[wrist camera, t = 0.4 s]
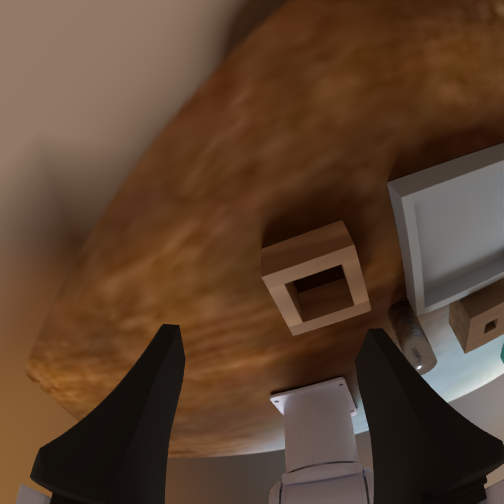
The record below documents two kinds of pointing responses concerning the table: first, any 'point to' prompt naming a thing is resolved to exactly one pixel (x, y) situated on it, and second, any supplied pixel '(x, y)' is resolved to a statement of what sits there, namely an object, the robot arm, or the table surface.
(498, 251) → the tray
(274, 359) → the table surface
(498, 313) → the block
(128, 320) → the table surface
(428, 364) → the cylinder
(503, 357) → the digital multimeter
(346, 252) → the wide bore block
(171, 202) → the table surface
